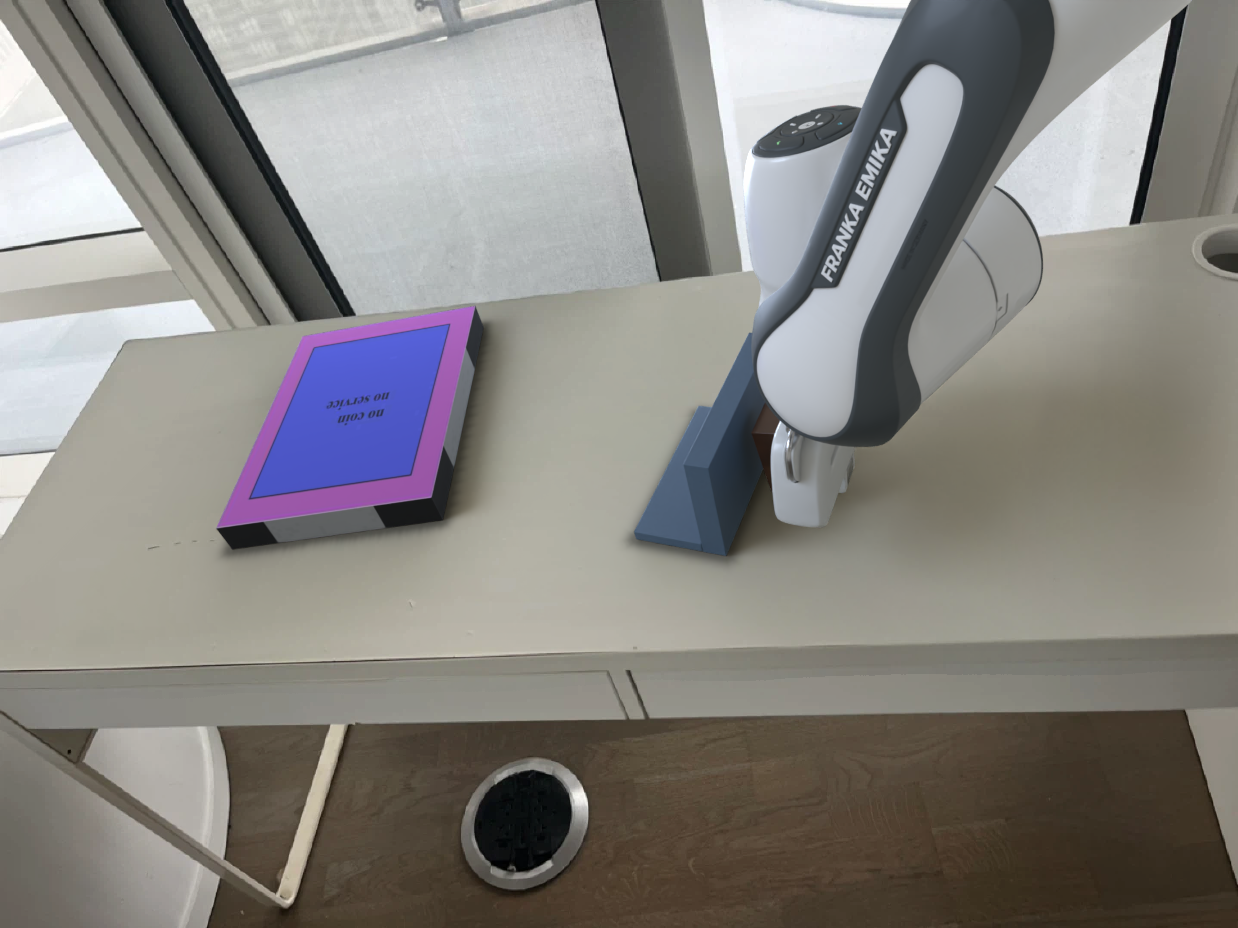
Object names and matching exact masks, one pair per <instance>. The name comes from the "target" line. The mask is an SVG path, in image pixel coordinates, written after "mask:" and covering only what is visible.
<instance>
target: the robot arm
mask: <svg viewBox="0 0 1238 928" xmlns="http://www.w3.org/2000/svg"><path fill="white" fill-rule="evenodd" d="M1192 1H1193V0H909V2H908V5H907V7H906V9H905V11H904V13H903V16H902V18H901V21H900V23H899V25H898V27H897V29H896V32H895V33H894V35H893V38H892V40H891V42H890V44H889V46H888V48H887V50H886V52H885V54H884V56H883V58H882V60H881V62H880V64H879V67H878V68H877V71H876V73H875V76H874V78H873V80H872V83H871V84H870V86H869V87H870V88H869V89H868V92H867V94H866V97H865V99H864V101H863V104H862V106H861V107H860V106H856V105H855V106H854V105H849V104H836V105H829V106H823V107H818V108H814V109H810V110H809V111H806V112H803V113H800V114H798V115H797V114H796V115H794V116H792V117H790V118H788V119H787V120H785V121H784V122H781V123H780V124H778V125H777V126H774V127H773V128H772V129H770V130H769V131H767V132H766V133H765V134H764V135H762V136H761V137H760V138H759V139H758V140H756V143H754V145H752V147H751V148H750V150H749V152H748V154H747V159H746V162H745V169H744V177H743V206H744V207H743V209H744V217H745V218H744V221H745V229H746V239H747V244H748V246H747V247H748V253H749V259H750V263H751V264H750V265H751V268H752V271H753V272H754V275H755V277H756V278H757V280H758V282H759V286H760V296H759V302H758V307H757V310H756V311H755V313H754V317H753V322H752V330H751V333H752V344H751V350H752V363H753V370H754V376H755V380H756V383H757V386H758V389H759V391H760V394H761V396H762V397H763V399H764V401H765V403H766V404H767V406H768V407H769V409H770V410H771V411H772V412H773V414H774V415H775V416H776V417H777V418H778V419H779V420H780V422H779V424H778V426H777V429H776V431H775V434H774V438H773V442H772V448H771V478H772V491H771V492H772V500H773V511H774V514H775V517H776V518H777V520H778V521H780V522H782V523H785V524H788V525H792V526H797V527H805V528H815V529H820V528H821V529H822V528H825V527H826V526H827V525H828V523H829V521H830V518H831V515H832V513H833V509H834V506H835V504H836V501H837V498H838V496H839V494H845V493H846V492H847V489H848V487H849V483H850V480H851V477H852V474H853V473H854V469H855V467H856V460H855V459H856V458H855V452H856V448H875V447H881V446H883V445H885V444H886V443H888V442H890V441H891V440H892V439H893V438H894V437H895V436H896V435H897V434H898V433H899V431H900V430H901V429H902V428H903V427H904V426H905V425H906V424H907V422H908V421H910V420H911V418H912V417H913V416H914V415H915V414H916V413H917V412H918V410H919V409H920V407H921V405H922V404H923V403H924V402H926V400H928V399H929V397H931V396H932V395H933V394H934V393H935V392H936V391H937V390H938V389H940V387H942V386H943V385H944V384H945V383H946V382H947V381H948V380H949V379H950V378H952V376H953V375H954V374H956V373H957V372H958V371H959V370H960V369H961V368H962V367H964V365H965V364H967V363H968V362H969V361H970V360H971V359H972V358H973V357H974V356H975V355H976V354H978V353H979V352H980V351H981V350H982V349H983V348H984V347H985V346H986V345H987V344H988V343H989V342H990V341H991V340H992V339H993V338H995V336H997V335H998V334H999V333H1000V332H1001V331H1003V329H1004V328H1005V327H1006V326H1007V325H1008V324H1009V323H1010V322H1011V321H1012V320H1014V318H1015V317H1016V316H1018V315H1019V314H1020V312H1022V311H1023V310H1024V308H1025V307H1026V306H1028V305H1029V304H1030V302H1032V301H1033V299H1034V298H1035V296H1036V295H1037V293H1038V291H1039V288H1040V286H1041V284H1042V281H1043V274H1044V255H1043V248H1042V244H1041V240H1040V239H1041V238H1040V237H1039V236H1040V235H1039V234H1038V230H1037V228H1036V226H1035V224H1034V221H1033V220H1032V218H1031V217H1030V215H1029V214H1028V212H1027V211H1026V209H1025V207H1024V206H1022V204H1021V203H1020V202H1019V201H1018V200H1017V199H1016V198H1015V197H1014V196H1012V195H1011V194H1010V193H1009V192H1008V191H1006V190H1005V189H1003V188H1002V187H999V186H998V185H996V184H997V183H998V182H999V180H1000V179H1001V178H1002V177H1003V175H1004V173H1005V172H1006V171H1007V170H1008V169H1009V168H1010V166H1011V165H1012V164H1013V163H1014V161H1016V159H1017V158H1018V157H1019V156H1020V155H1021V154H1022V152H1023V151H1024V150H1025V149H1026V148H1027V147H1028V146H1029V145H1030V144H1031V143H1032V142H1033V141H1034V140H1035V139H1036V137H1038V135H1040V133H1042V132H1043V130H1045V129H1046V128H1047V127H1048V125H1050V124H1051V123H1052V122H1053V121H1054V120H1055V119H1056V118H1057V117H1058V116H1059V115H1060V114H1061V113H1062V112H1064V111H1065V110H1066V109H1067V108H1068V107H1069V106H1070V105H1071V104H1073V102H1075V101H1076V99H1078V98H1080V97H1081V96H1082V94H1083V93H1085V92H1086V91H1088V89H1089V88H1091V86H1093V85H1094V84H1095V83H1096V82H1098V81H1099V80H1100V79H1101V78H1102V77H1103V76H1104V75H1106V74H1107V73H1108V72H1109V71H1110V70H1112V69H1113V68H1114V67H1115V66H1117V65H1118V64H1119V63H1120V62H1121V61H1122V60H1124V59H1125V58H1126V57H1127V56H1129V55H1130V54H1131V53H1132V52H1133V51H1135V50H1136V49H1138V47H1140V46H1141V45H1142V44H1143V43H1144V42H1145V41H1147V40H1148V39H1150V37H1151V36H1153V35H1154V34H1156V32H1158V31H1159V30H1160V29H1161V28H1162V27H1163V26H1164V25H1166V24H1167V23H1169V21H1171V20H1172V19H1173V18H1174V17H1175V16H1176V15H1178V14H1179V13H1180V12H1181V11H1183V9H1185V8H1186V7H1187V6H1188V5H1189V4H1191V2H1192Z"/></svg>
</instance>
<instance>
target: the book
mask: <svg viewBox="0 0 1238 928" xmlns="http://www.w3.org/2000/svg"><path fill="white" fill-rule="evenodd" d="M483 332H484V325H483V322H482V320H481V316H480V314H479V311H478V309H477V306H476V305H469V306H464V307H460V308H453V309H448V310H442V311H437V312H430V313H425V314H418V315H413V316H408V317H402V318H396V319H391V320H385V321H380V322H375V323H374V322H373V323H369V324H363V325H357V326H350V327H346V328H340V329H335V330H328V331H322V332H317V333H312V334H305V335H302V336H301V339H300V340H299V343H298V345H297V347H296V349H295V352H294V354H293V356H292V359H291V361H290V363H289V365H288V368H287V370H286V372H285V374H284V377H283V378H282V381H281V383H280V385H279V386H278V390H277V391H276V394H275V397H274V399H273V401H272V403H271V406H270V407H269V409H268V412H267V414H266V416H265V418H264V421H263V423H262V425H261V428H260V430H259V432H258V433H257V436H256V439H255V441H254V443H253V445H252V448H251V449H250V452H249V454H248V456H247V459H246V461H245V463H244V465H243V468H242V469H241V472H240V474H239V477H238V479H237V481H236V483H235V485H234V487H233V489H232V491H231V494H230V496H229V498H228V501H227V503H226V505H225V507H224V510H223V511H222V514H221V517H220V518H219V520H218V523H217V525H216V527H215V529H216V531H217V532H218V533H219V534H220V536H221V537H222V538H223V540H224V541H225V542H226V543H227V545H228V546H229V547H230V549H231V550H238V549H245V548H253V547H259V546H267V545H274V544H281V543H288V542H289V543H290V542H296V541H303V540H310V539H317V538H325V537H331V536H338V535H347V534H354V533H359V532H360V533H361V532H368V531H376V530H382V529H389V528H396V527H403V526H410V525H411V526H412V525H418V524H425V523H432V522H440V521H443V520H444V518H445V513H446V512H445V511H446V507H447V502H448V498H449V493H450V490H451V489H450V488H451V484H452V480H453V474H454V471H455V465H456V460H457V456H458V451H459V446H460V441H461V438H462V437H461V436H462V431H463V427H464V422H465V418H466V413H467V407H468V404H469V399H470V394H471V389H472V385H473V380H474V374H475V370H476V365H477V360H478V355H479V351H480V346H481V343H482V342H481V341H482V336H483Z"/></svg>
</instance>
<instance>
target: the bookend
mask: <svg viewBox="0 0 1238 928" xmlns="http://www.w3.org/2000/svg"><path fill="white" fill-rule="evenodd" d="M751 344H752V332H748V333H747V336H746V337H745V340H744V341H743V344H742V346H741V347H740V350H739V352H738V354H737V356H736V357H735V359H734V362H733V364H732V366H731V368H730V370H729V371H728V373H727V375H726V378H725V380H724V382H723V383H722V386H721V387H720V390H719V391H718V393H717V395H716V398H715V399H714V402H713V403H712V406H705V405H697V407H696V409H695V411H694V414H693V416H692V417H691V420H690V421H689V423H688V425H687V427H686V429H685V431H684V433H683V435H682V437H681V439H680V440H679V443H678V445H677V446H676V448H675V451H674V453H673V454H672V456H671V459H670V460H669V462H668V465H667V466H666V468H665V470H664V472H663V474H662V476H661V478H660V480H659V482H658V484H657V485H656V487H655V489H654V491H653V493H652V495H651V498H650V499H649V501H648V503H647V505H646V507H645V509H644V511H643V513H642V514H641V517H640V519H639V521H638V522H637V525H636V526H635V529H634V531H633V533H634V537H635V539H636V540H639V541H644V542H649V543H653V544H654V543H655V544H659V545H660V544H661V545H664V546H671V547H676V548H681V549H687V550H692V551H698V552H703V553H707V554H713V555H718V556H723V557H727V556H728V553H729V551H730V549H731V546H732V544H733V542H734V539H735V536H736V535H737V532H738V529H739V527H740V526H741V523H742V520H743V518H744V515H745V513H746V510H747V508H748V506H749V503H750V501H751V499H752V497H753V494H754V491H755V489H756V487H757V484H758V483H759V480H760V477H761V475H762V472H763V471H764V469H763V466H762V463H761V460H760V458H759V455H758V452H757V449H756V446H755V443H754V440H753V437H752V434H751V432H752V430H753V428H754V426H755V424H756V421H757V419H758V417H759V415H760V412H761V410H762V408H763V406H764V403H765V401H764V399H763V397H762V396H761V394H760V391H759V389H758V386H757V383H756V380H755V376H754V370H753V363H752V350H751Z"/></svg>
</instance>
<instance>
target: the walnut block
mask: <svg viewBox="0 0 1238 928" xmlns="http://www.w3.org/2000/svg"><path fill="white" fill-rule="evenodd" d="M779 422H780V420H779V419H778V418H777V417H776V416H775V415H774V414H773V412H772V411H771V410H770V409H769V407H768V406H767V404H766V403H764V406H763V408H762V410H761V412H760V415H759V417H758V419H757V421H756V424H755V426H754V428H753V430H752V432H751V434H752V437H753V440H754V443H755V446H756V449H757V452H758V455H759V458H760V460H761V463H762V466H763V472H764V475H765V478H766V482H767V484H768V487H769V490H770V492H772V478H771V448H772V442H773V438H774V434H775V431H776V429H777V426H778V424H779Z"/></svg>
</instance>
